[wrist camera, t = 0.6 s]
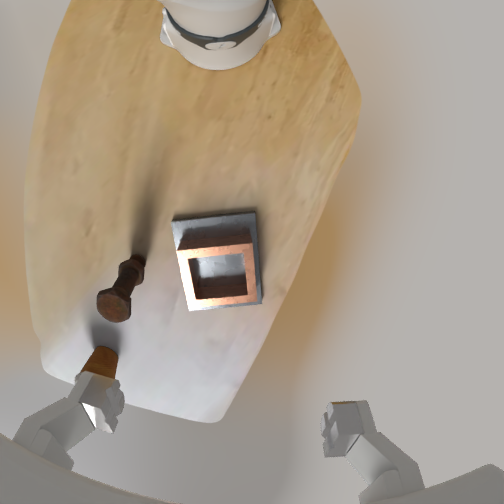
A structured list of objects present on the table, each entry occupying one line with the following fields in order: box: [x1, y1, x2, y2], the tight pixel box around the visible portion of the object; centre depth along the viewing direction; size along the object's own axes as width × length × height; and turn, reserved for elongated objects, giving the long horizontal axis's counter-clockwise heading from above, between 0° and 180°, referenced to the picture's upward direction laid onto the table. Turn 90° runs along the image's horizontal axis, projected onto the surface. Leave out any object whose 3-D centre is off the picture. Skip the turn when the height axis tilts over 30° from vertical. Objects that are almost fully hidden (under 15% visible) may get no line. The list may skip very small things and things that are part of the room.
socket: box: [171, 211, 262, 310], centre depth 51 cm, size 18×14×5 cm
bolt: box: [97, 254, 146, 323], centre depth 45 cm, size 6×5×15 cm
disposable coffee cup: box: [74, 346, 118, 384], centre depth 56 cm, size 10×10×12 cm
